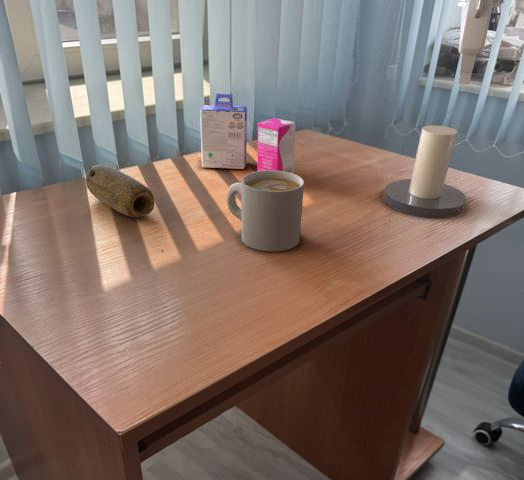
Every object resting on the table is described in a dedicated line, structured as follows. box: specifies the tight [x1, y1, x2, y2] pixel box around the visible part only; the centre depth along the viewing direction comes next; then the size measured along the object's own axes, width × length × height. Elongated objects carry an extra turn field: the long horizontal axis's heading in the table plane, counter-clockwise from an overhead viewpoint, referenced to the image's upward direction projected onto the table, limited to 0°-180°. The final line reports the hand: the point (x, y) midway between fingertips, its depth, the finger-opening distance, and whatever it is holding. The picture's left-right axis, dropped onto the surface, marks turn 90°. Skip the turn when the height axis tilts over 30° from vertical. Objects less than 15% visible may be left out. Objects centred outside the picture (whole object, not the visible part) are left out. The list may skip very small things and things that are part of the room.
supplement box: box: [256, 117, 296, 174], centre depth 109 cm, size 6×6×12 cm
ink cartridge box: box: [199, 93, 248, 170], centre depth 114 cm, size 10×6×14 cm, turn 89°
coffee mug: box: [226, 170, 305, 252], centre depth 87 cm, size 13×10×10 cm
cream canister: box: [409, 124, 458, 199], centre depth 100 cm, size 6×6×12 cm
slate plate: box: [382, 178, 467, 219], centre depth 104 cm, size 16×16×2 cm
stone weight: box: [85, 164, 155, 218], centre depth 95 cm, size 15×7×7 cm, turn 49°
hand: (463, 79), depth 89 cm, fingers open, 8 cm apart
